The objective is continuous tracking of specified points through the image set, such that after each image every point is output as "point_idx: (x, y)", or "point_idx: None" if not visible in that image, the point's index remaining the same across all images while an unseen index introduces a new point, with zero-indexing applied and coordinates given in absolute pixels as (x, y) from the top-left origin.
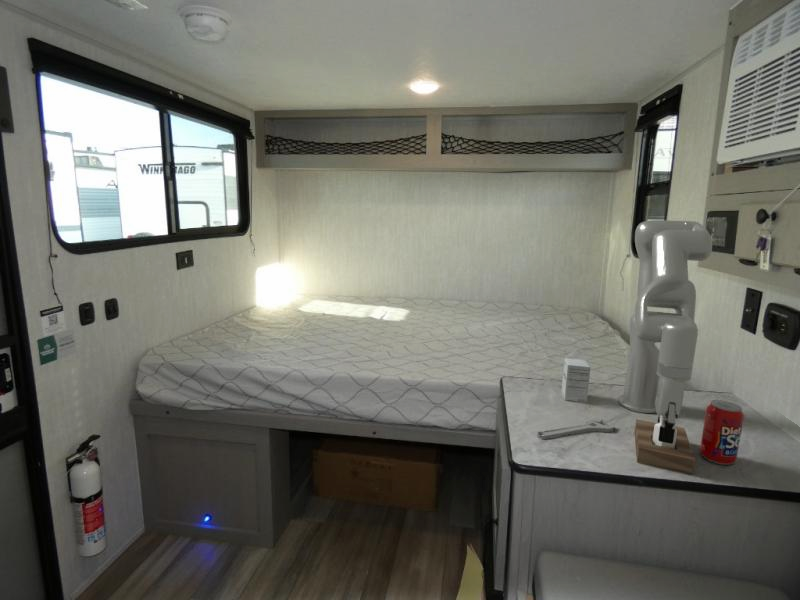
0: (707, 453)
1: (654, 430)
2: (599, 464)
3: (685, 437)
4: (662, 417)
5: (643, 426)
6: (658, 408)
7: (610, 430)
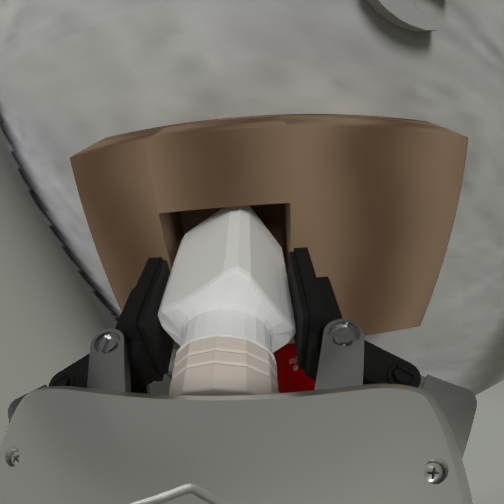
0: (277, 362)
1: (224, 247)
2: (20, 33)
3: None
4: (125, 387)
5: (394, 166)
6: (16, 442)
7: (376, 6)
